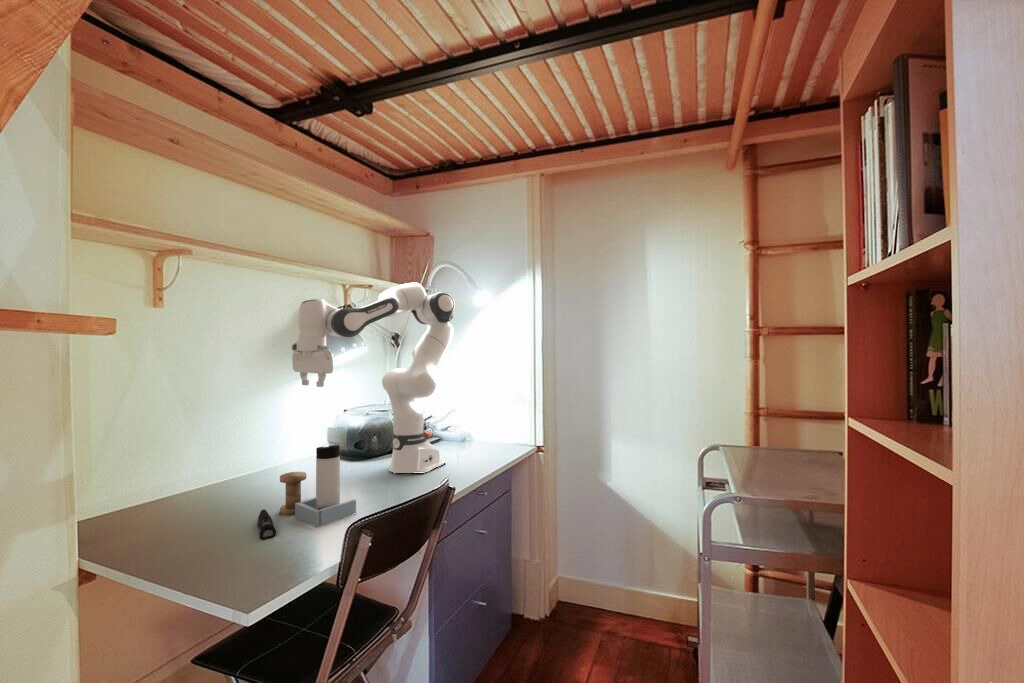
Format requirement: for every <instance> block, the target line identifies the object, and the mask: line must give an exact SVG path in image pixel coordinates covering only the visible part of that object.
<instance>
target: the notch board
mask: <svg viewBox="0 0 1024 683" xmlns="http://www.w3.org/2000/svg"><path fill="white" fill-rule="evenodd" d="M354 513H356V514H357V499H354V498H353V499H349V500H347V501H346V500H345V501H343V502H340V504H336V505H333V506H330V507H327V508H324V509H321V510H317V509H316V496H315V497H312V498H309V499H304V500H301V502H298V503H295V515H294V516H295V517H294V518H295V519H297V520H300V521H302V522H304V523H307V524H308V525H311V526H313V527H315V528H320V527H322V526H326V525H328V524H331V523H333V522H337V521H340V520H342V518H343V519H345V518H344V517H346V518H348V517H350V516H349V515H351V516H353V515H352V514H354ZM354 515H355V514H354ZM347 516H348V517H347ZM339 519H340V520H339Z"/></svg>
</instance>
